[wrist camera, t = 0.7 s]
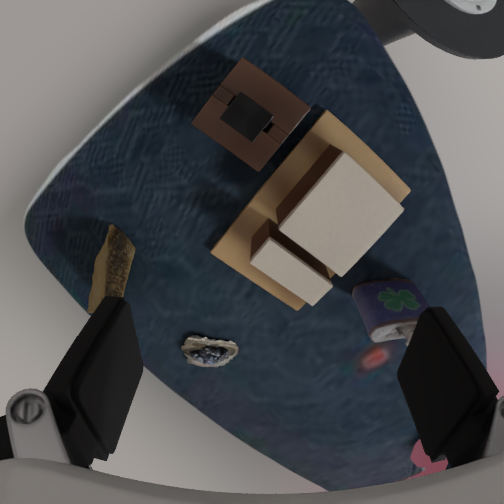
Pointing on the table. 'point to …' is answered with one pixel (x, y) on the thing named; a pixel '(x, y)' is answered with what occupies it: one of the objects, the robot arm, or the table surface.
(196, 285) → the table surface
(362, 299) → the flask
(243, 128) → the knife
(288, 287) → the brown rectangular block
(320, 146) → the board
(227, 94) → the knife block
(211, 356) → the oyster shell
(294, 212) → the cake loaf
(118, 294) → the rock
